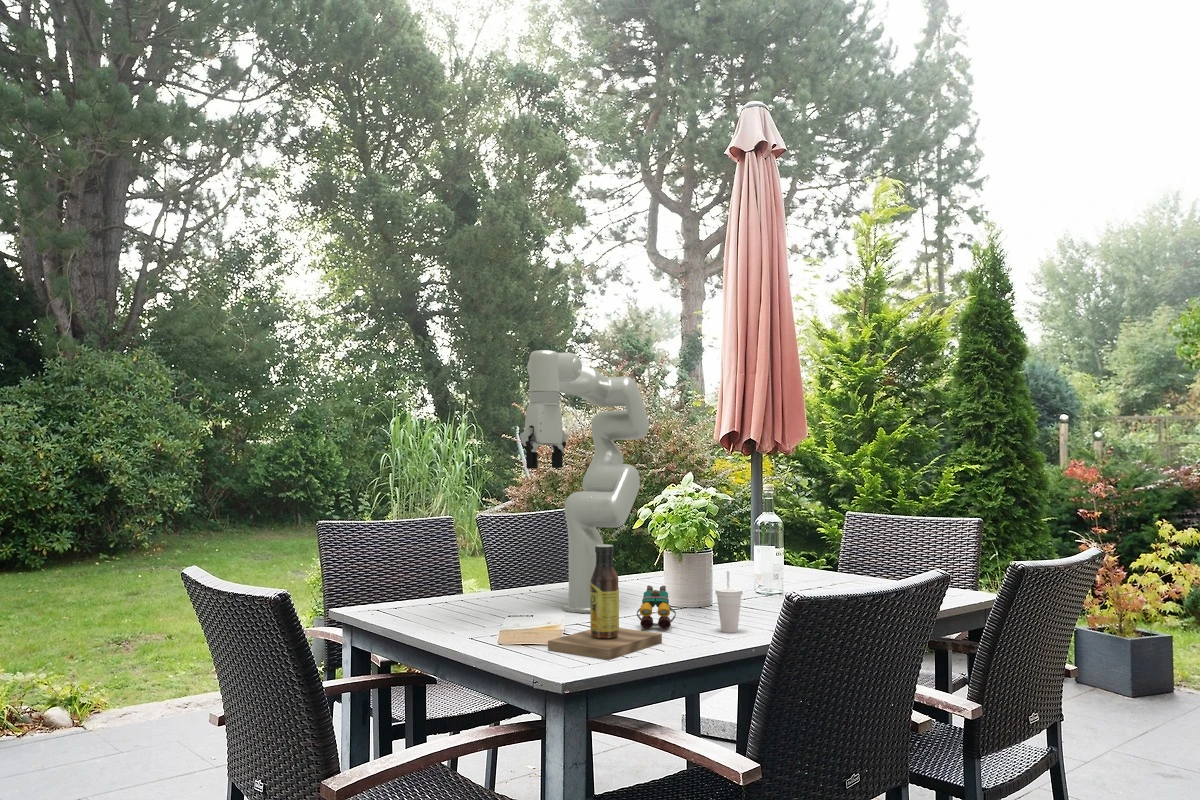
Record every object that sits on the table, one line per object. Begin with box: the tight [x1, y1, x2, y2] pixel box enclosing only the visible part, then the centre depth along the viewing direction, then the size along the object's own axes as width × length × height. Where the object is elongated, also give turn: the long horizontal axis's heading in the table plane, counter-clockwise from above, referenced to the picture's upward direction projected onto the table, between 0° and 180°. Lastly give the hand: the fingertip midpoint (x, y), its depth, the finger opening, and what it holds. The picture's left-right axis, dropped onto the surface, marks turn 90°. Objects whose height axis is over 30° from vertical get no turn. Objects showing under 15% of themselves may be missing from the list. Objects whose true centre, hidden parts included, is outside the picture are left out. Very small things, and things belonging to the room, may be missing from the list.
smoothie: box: [714, 570, 744, 634], centre depth 212 cm, size 6×6×14 cm
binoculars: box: [636, 585, 677, 630], centre depth 217 cm, size 9×9×10 cm
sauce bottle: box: [589, 543, 620, 639], centre depth 196 cm, size 7×6×20 cm
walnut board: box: [547, 627, 663, 661], centre depth 196 cm, size 20×16×2 cm
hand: (544, 468), depth 225 cm, fingers open, 9 cm apart
